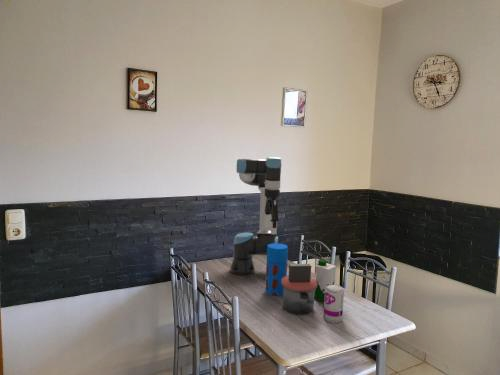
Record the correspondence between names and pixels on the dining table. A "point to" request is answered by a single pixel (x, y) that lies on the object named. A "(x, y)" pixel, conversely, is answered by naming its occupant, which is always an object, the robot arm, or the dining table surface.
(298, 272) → the lid
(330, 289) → the supplement can
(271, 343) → the dining table surface
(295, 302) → the pot
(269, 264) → the thermos
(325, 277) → the milk carton
